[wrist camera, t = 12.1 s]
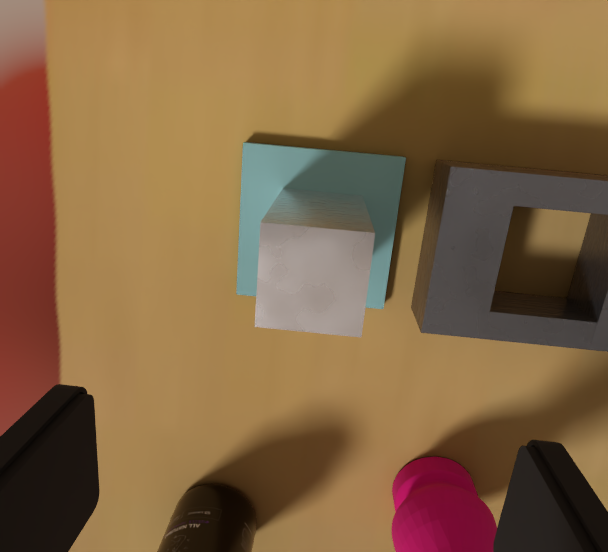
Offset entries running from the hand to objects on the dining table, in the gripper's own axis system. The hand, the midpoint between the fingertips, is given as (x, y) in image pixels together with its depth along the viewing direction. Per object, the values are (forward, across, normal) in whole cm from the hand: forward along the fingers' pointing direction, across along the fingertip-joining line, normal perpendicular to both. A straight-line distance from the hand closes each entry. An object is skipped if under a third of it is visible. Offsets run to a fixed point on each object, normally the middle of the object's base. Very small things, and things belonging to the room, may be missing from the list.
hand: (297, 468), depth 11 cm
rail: (+23, -16, 0) cm, 28 cm away
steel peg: (+22, 0, 0) cm, 22 cm away
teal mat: (+23, +1, 0) cm, 23 cm away
